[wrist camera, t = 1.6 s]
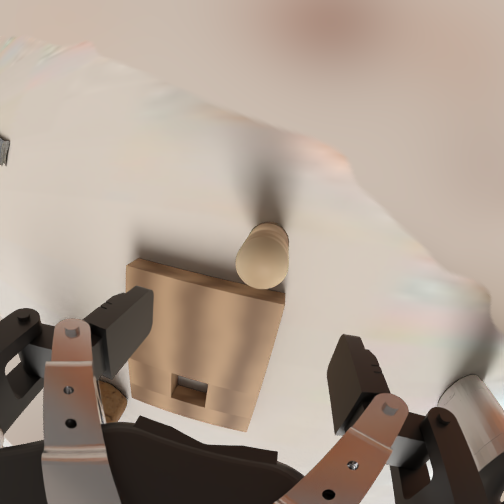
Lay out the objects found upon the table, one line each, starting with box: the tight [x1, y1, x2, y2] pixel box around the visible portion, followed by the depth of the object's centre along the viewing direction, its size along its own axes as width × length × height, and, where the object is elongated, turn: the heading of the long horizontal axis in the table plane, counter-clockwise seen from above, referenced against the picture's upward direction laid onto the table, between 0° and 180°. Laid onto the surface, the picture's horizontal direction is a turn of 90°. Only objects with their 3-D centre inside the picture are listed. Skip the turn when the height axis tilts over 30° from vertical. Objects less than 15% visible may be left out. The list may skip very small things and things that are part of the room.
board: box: [126, 258, 285, 432], centre depth 33 cm, size 18×22×3 cm
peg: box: [236, 222, 289, 289], centre depth 25 cm, size 4×4×10 cm
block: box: [99, 380, 127, 423], centre depth 31 cm, size 11×8×20 cm
